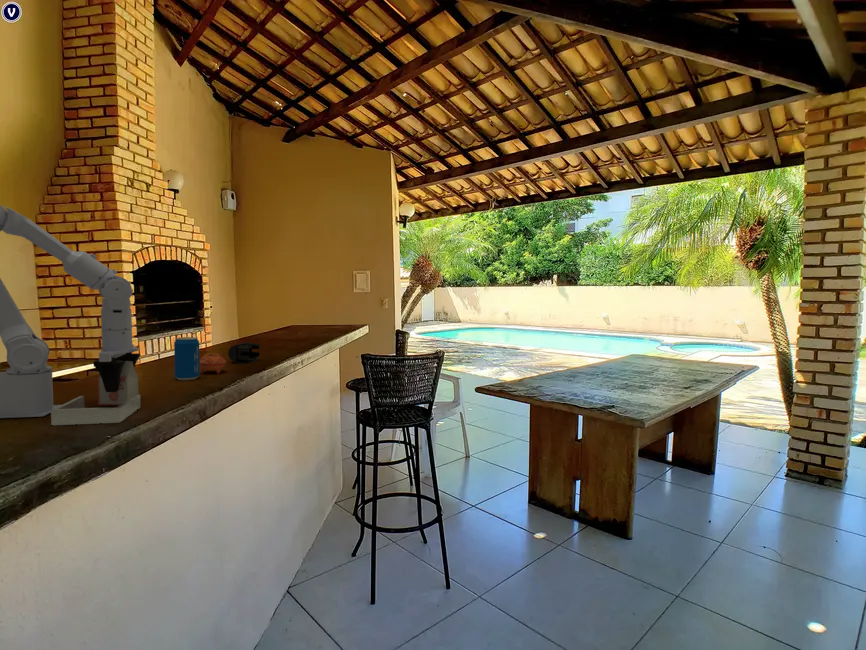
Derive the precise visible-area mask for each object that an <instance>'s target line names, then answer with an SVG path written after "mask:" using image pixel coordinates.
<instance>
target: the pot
mask: <svg viewBox="0 0 866 650" xmlns="http://www.w3.org/2000/svg"><path fill="white" fill-rule="evenodd" d="M199 359H200V374H203V373H204V371H208V372H215V373H216V374H217V375H218V374H220V372H221V369H222V368H223V367H224V366H226V364H227V361H226V360H225V358H223V356H221V355H220V354H219V353H210V352H209V353H205V355H203V356H202V357H201V358H199Z"/></svg>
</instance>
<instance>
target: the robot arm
mask: <svg viewBox="0 0 866 650" xmlns="http://www.w3.org/2000/svg"><path fill="white" fill-rule="evenodd" d="M1 231H2V232H3V233H5V234H6V235H7V234H8V235H11V236H15V237H16V236H17V237H22V238H25V239H26V240H27V241H29V242H30V243H33V244H34V245H36V246H37V247H38V248H40V249H42V250H43V251H45V252H46V253H48V254H49V255H51V256H53V257H55V258H56V259H57V260H59V261H60V262H62V266H63V271H64V272H65V273H66V274H68V275H70V276H71V277H72V278H74V279H76V281H79V282H80V283H81V284H83V285H84V286H86V287H87V288H89V289H91V290H98V293H99V295H100V296H101V309H100V313H101V314H100V320H101V321H100V322H101V323H100V325H101V349H100V352H99V353H98V360H97V359H96V360H94V361H93V367H94V368H95V370H96V371H97V372H98V375H99V374H100V376H101V378H102V381H103V384H104V387H105V390H106V392H117V391H118V389H119V383H120V375H121V371H122V368H123V366H124V364H125V362H126V361H133V366H134V369H135V367H136V365H137V362H138V360H139V358H140V356H141V354H140V353H137V352H138V351H139V347H135V344H134V343H133V330H132V329H133V319H132V318H133V317H132V308H131V306H132V303H131V299H130V298H131V297H132V296H133V292H134V289H132V285H131V283H130V282H129V281H128V279H126V278H124V277H122V276H118V275H117V274H118V271H117V270H115V269H110V267H108V266H106V265H105V264H103V263H102V262H100V261H99V260H97V258H98V256H97V255H95V254H94V253H90V254H89V253H87V251H81V250H80V251H75V250H72V249H71V248H69V247H68V246H67V245H65V244H64V243H63V242H61V241H60V240H58V238H56V237H54V236H53V235H51V233H49V232H48V231H46V230H45V229H43V228H42V227H41V226H39V224H36V223H35V222H33V220H31V219H29V218H28V217H26V216H24V215H23V214H20V213H19V212H17V211H16V210H13V209H12V208H11V207H8V206H6V205H5V206H4V207H3V206H2V204H1V203H0V232H1ZM0 338H1V342H2V343H3V346H4V348H5V349H6V362H7V364H8V365H9V366H10V367H8V368H6V370H5V371H0V419H11V418H12V419H13V418H14V419H15V418H35V417H36V418H41V417H42V418H43V417H45V416H47V415H49V414H51V410H53V409H55V408H57V407H59V406H61V405H62V404H54V387H53V386H54V385H53V366H50V365H49V364H47V362H48V360H49V355H50V348H49V345H48V343H47V342H45V341H44V340H43V339H41V338H39V336H37V335H36V334H35V333H34V331H33V328H31V326H30V325H29V324H28V322H27V321H26V319H25V317H24V316H23V314H22V313H21V311H20V308H19V307H18V304H16V302H15V300H14V298H13V297H12V295H11V293H10V292H9V290H8V289H7V287H6V285H5V283H4V282H3V280H2V277H0ZM135 352H136V353H135Z"/></svg>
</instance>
